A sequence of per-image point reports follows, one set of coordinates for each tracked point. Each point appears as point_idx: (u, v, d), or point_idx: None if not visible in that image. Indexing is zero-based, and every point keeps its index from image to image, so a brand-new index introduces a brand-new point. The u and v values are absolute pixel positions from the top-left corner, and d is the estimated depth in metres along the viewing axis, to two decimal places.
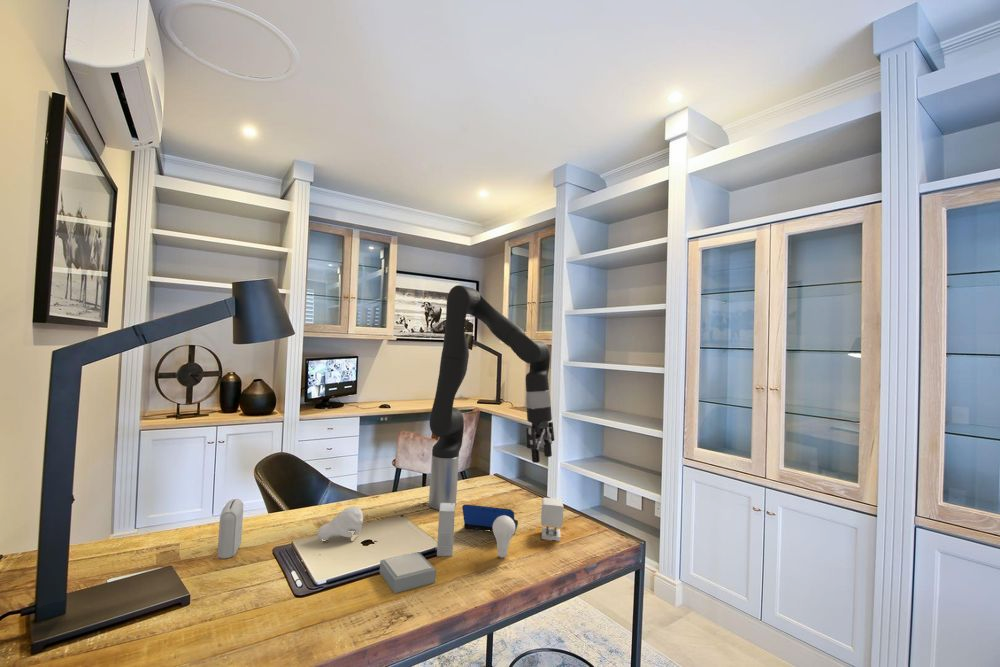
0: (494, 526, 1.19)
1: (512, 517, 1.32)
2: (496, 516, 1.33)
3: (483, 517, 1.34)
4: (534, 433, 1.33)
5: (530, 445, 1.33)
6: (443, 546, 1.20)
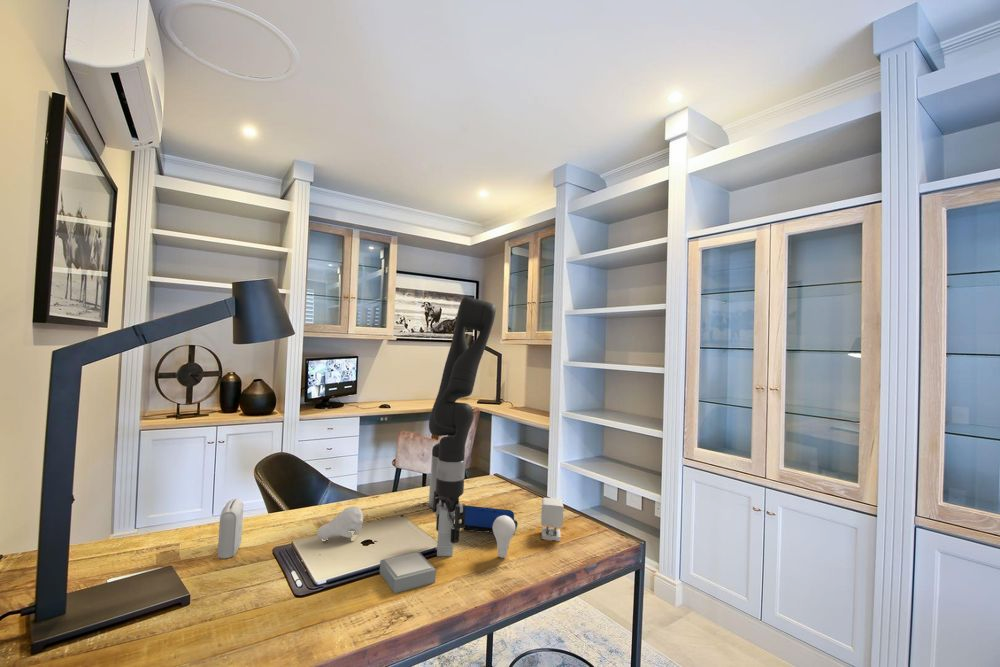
0: (494, 526, 1.19)
1: (512, 518, 1.32)
2: (496, 517, 1.32)
3: (482, 518, 1.34)
4: (434, 496, 1.27)
5: None
6: (443, 546, 1.20)
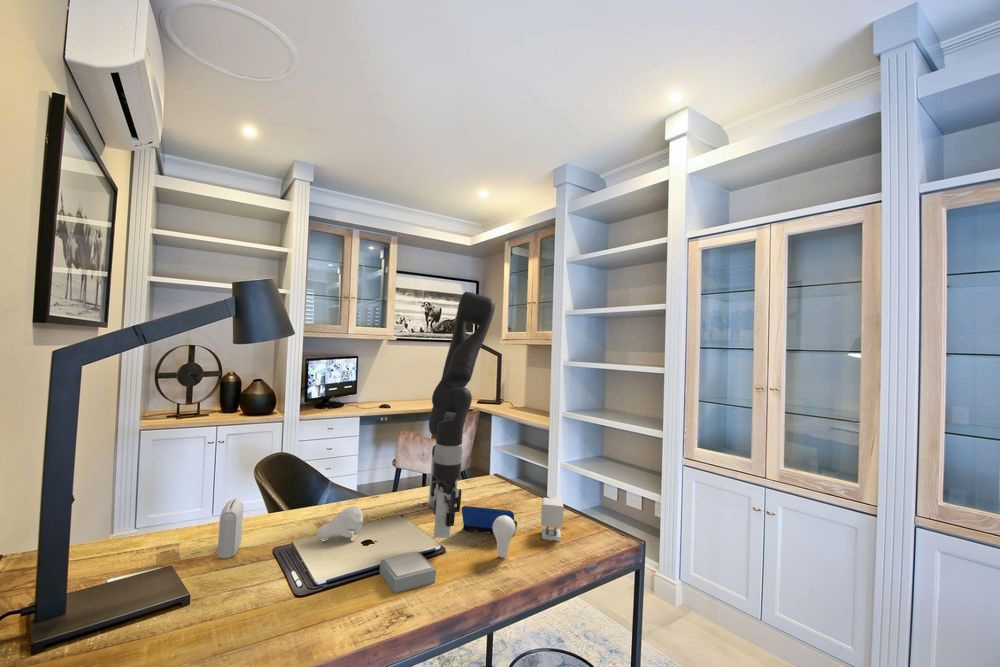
0: (494, 526, 1.19)
1: (512, 518, 1.31)
2: (496, 517, 1.32)
3: (482, 519, 1.33)
4: (432, 481, 1.27)
5: None
6: (440, 528, 1.20)
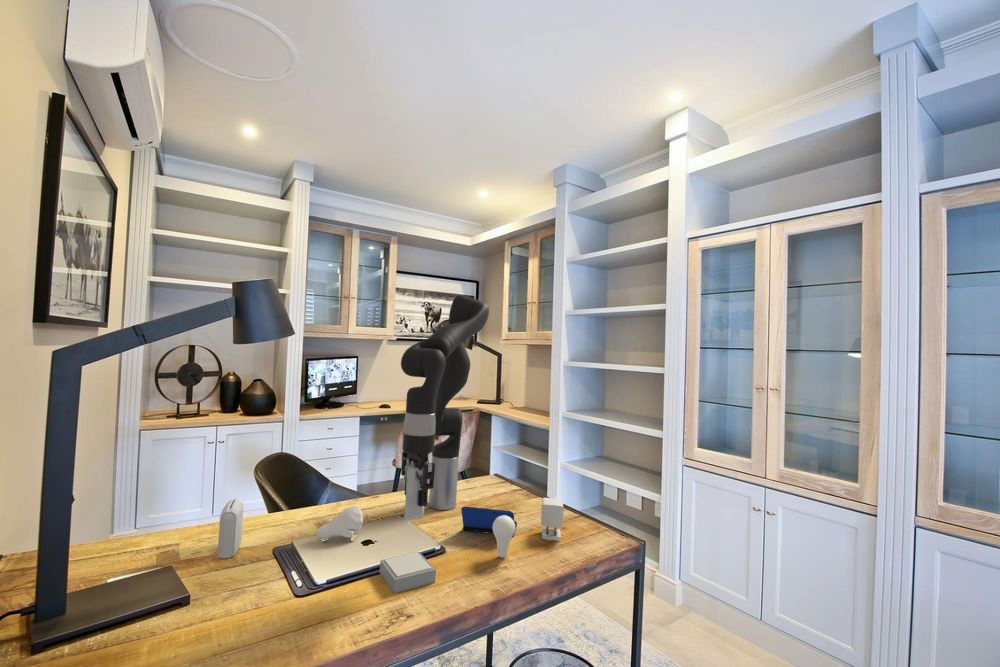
0: (494, 526, 1.19)
1: (512, 519, 1.31)
2: None
3: (482, 519, 1.33)
4: (402, 457, 1.13)
5: None
6: (412, 508, 1.05)
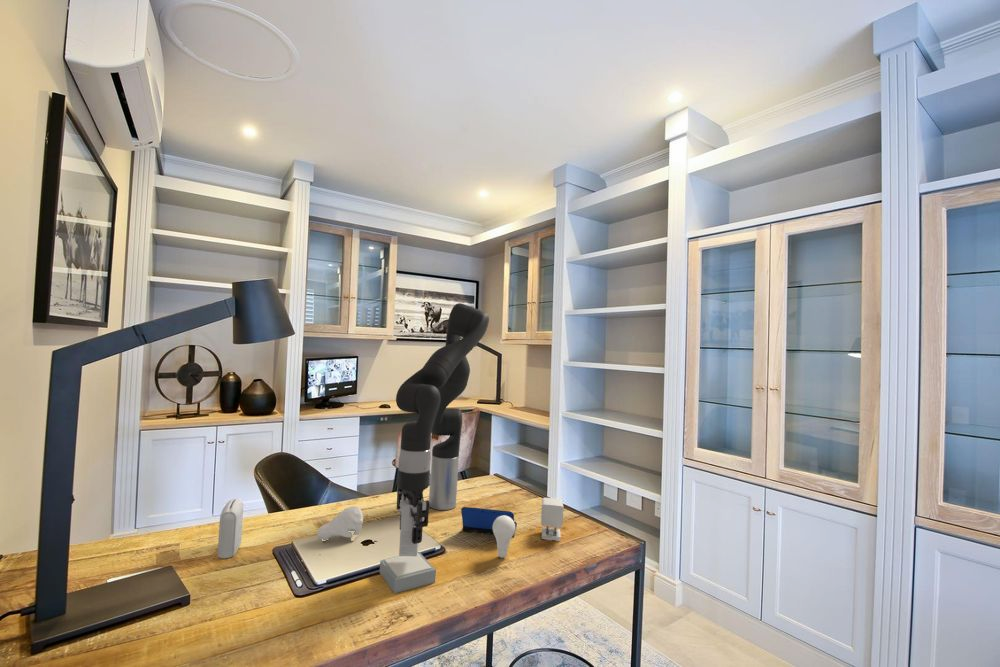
0: (494, 526, 1.19)
1: (512, 519, 1.31)
2: None
3: (482, 520, 1.33)
4: (398, 491, 1.13)
5: None
6: (406, 545, 1.05)
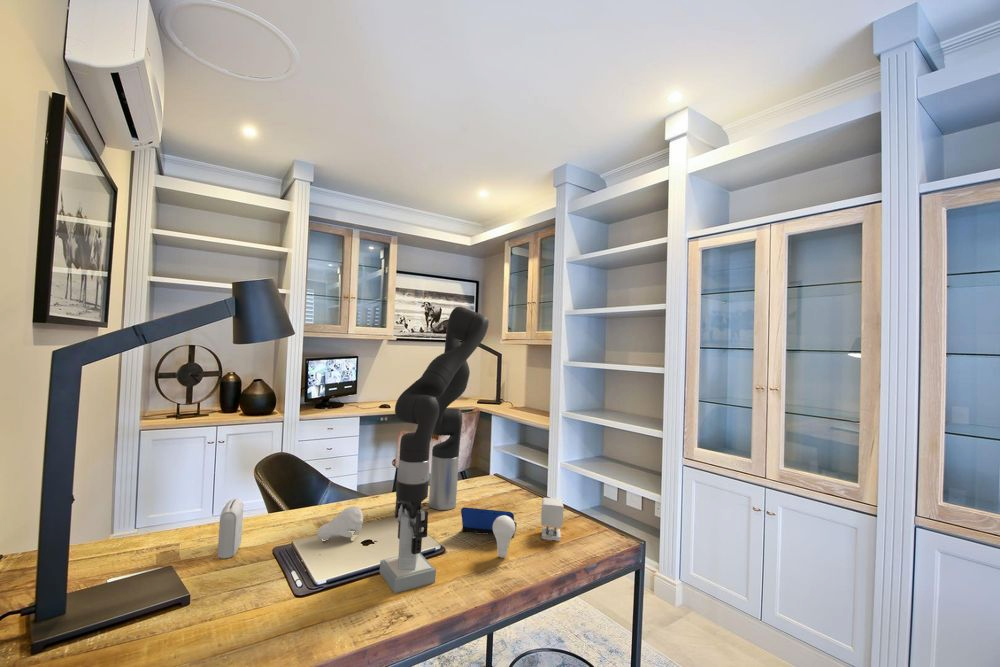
0: (494, 526, 1.19)
1: (512, 519, 1.30)
2: None
3: (482, 520, 1.32)
4: (397, 500, 1.13)
5: None
6: (405, 558, 1.05)
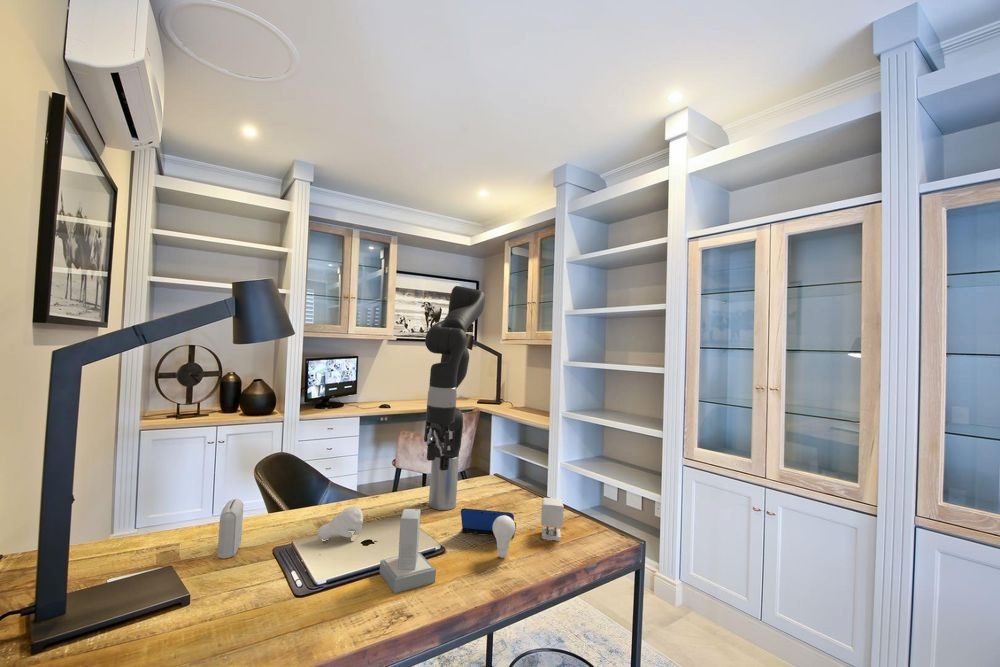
0: (494, 526, 1.19)
1: None
2: None
3: (481, 521, 1.32)
4: (426, 426, 1.23)
5: None
6: (405, 558, 1.05)
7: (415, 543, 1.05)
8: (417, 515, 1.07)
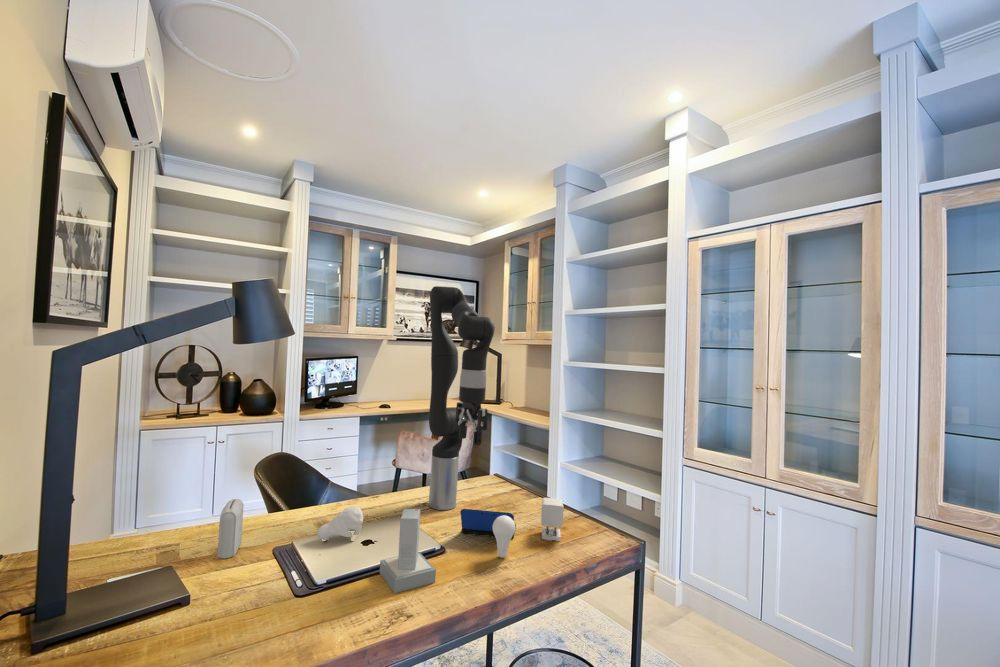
0: (494, 526, 1.19)
1: None
2: None
3: (481, 521, 1.31)
4: (457, 407, 1.35)
5: None
6: (405, 558, 1.05)
7: (415, 543, 1.05)
8: (417, 515, 1.07)
